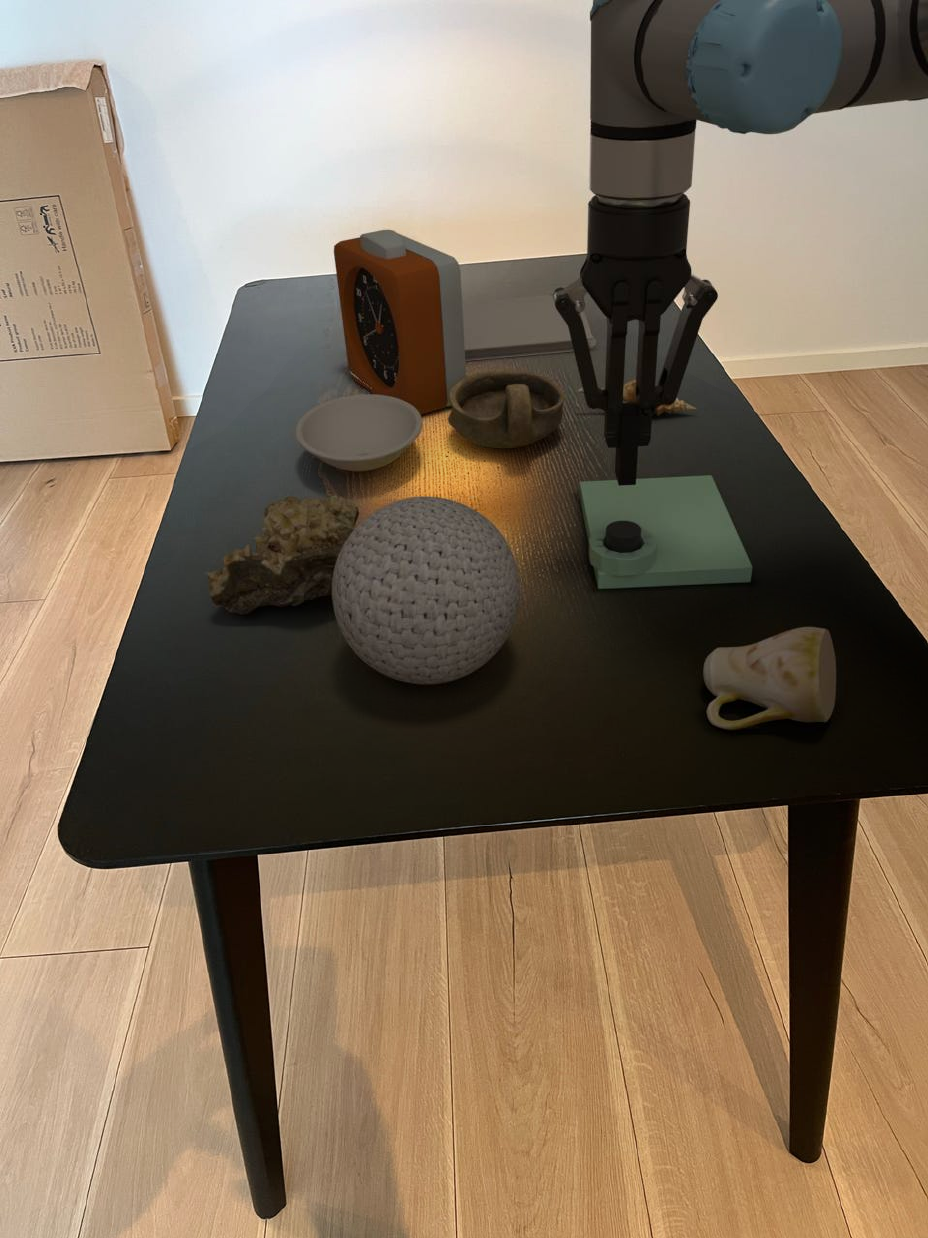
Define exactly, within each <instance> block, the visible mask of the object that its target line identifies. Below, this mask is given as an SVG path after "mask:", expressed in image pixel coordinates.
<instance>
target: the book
mask: <svg viewBox="0 0 928 1238" xmlns="http://www.w3.org/2000/svg"><path fill="white" fill-rule="evenodd" d="M462 309H463V327H464V346H465V362H471V361H483V360H494V359H505V358H514V357H515V358H516V357H525V356H526V357H527V356H538V355H550V354H559V353H560V354H561V353H570V352H574V349H573V345H572V341H571V337H570V333H569V328H568V325H567V324H566V322H565V321H564V320H563V318H562V317H561V315H560V314H559V312H558V311H557V309H556V307H555V303H554V299H553V294H547V295H535V296H523V297H513V298H512V297H511V298H499V299H488V300H477V301H466V302H462ZM580 315H581V318H582V321H583V325H584V328H585V333H586V337H587V342H588V346H589V350H590V349H593V348H594V347H596V345H597V340H596V339H595V337H594V335H593V334H592V331H591V327H590V324H589V321H588V318H587V316H586V313H585V311H584V310H583V311H582V312H581V313H580Z"/></svg>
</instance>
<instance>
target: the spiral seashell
mask: <svg viewBox="0 0 928 1238" xmlns="http://www.w3.org/2000/svg"><path fill="white" fill-rule="evenodd" d="M657 385H658V384H655V386H657ZM599 388H600V389H603V390H605V388H601V387H599ZM635 391H636V379H631V380H630V381H628V382H626V383H624V388H623V402H625V403H633V402H635V403H636V397H635ZM577 392H578V393H581V394H582V393H583V394H584V391H583V387H580V388H578V391H577ZM691 410H692V411H694V410H697V407H694V406H692V405H691V404H688V402H685V401H684V400H682V399H681V400H680V399H679V398H678V397H677V398H676V400H675V402H674V403H673V404H671V405H665V404H664V405H661V406H659V407H657V408H656V409H655V413H654V415H656V416H660V415H662V414H663V413H664V412H665V413H667V414H671V413H673V411H674V412H675V413H677V412H679V411H681V412H683V411H691Z"/></svg>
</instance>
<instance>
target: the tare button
mask: <svg viewBox="0 0 928 1238" xmlns="http://www.w3.org/2000/svg"><path fill="white" fill-rule="evenodd" d="M640 544H641V527H640V526H639V525H638V524H636V523H634V522H631V521H615V522H612V523H610V524H609V525H608V526H607V527H606V540H605V546H606V548H607V549H608V550H610V551H615V552H619V553H629V552H634V551H636V550H639V548H640Z"/></svg>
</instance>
